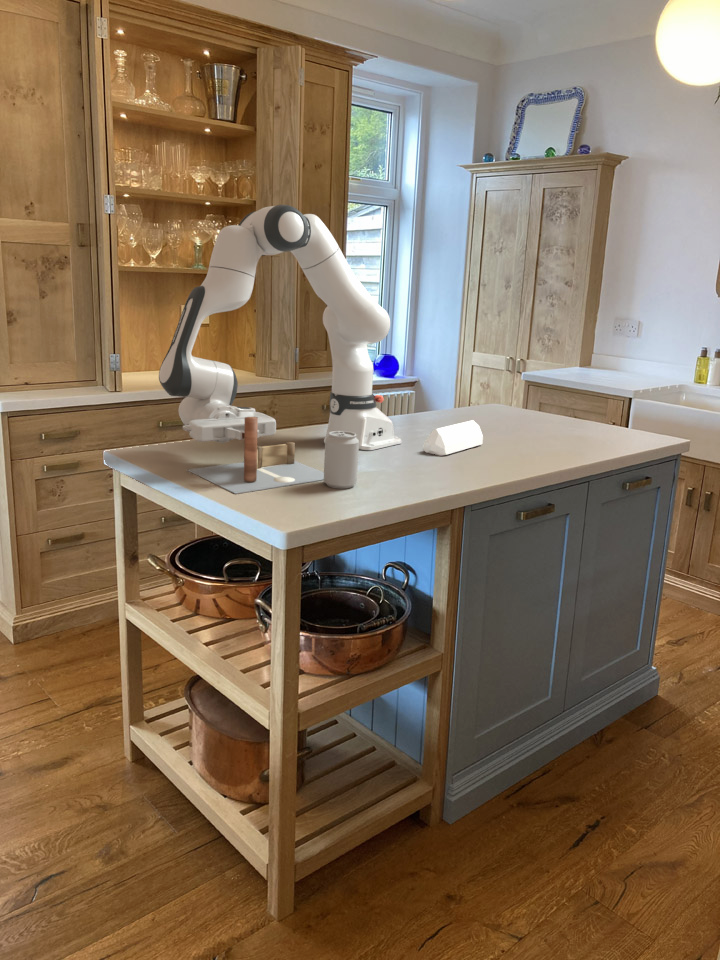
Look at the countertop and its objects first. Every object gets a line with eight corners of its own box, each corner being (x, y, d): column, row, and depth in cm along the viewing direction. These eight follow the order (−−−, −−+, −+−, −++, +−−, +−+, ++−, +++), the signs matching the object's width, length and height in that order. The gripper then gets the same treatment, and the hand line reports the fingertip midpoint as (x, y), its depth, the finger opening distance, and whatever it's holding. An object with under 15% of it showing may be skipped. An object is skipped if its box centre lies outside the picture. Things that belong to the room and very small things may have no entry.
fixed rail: (290, 461, 191) (291, 441, 190) (296, 463, 190) (296, 443, 188) (249, 466, 184) (249, 446, 183) (254, 469, 182) (254, 448, 181)
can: (327, 490, 170) (329, 436, 166) (320, 480, 176) (322, 429, 173) (360, 489, 172) (363, 436, 168) (351, 480, 178) (354, 429, 175)
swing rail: (249, 467, 182) (250, 409, 179) (261, 468, 182) (262, 409, 179) (243, 481, 171) (243, 419, 167) (255, 481, 171) (256, 419, 167)
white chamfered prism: (448, 445, 203) (492, 433, 221) (429, 428, 205) (475, 417, 224) (435, 466, 206) (479, 452, 225) (416, 449, 209) (462, 437, 228)
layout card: (284, 457, 196) (284, 456, 196) (337, 477, 180) (337, 477, 179) (186, 470, 179) (187, 469, 179) (235, 494, 163) (235, 493, 163)
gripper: (179, 412, 174) (207, 424, 164) (258, 407, 186) (289, 418, 176) (179, 439, 176) (206, 453, 166) (257, 432, 188) (288, 444, 178)
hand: (249, 435), depth 171 cm, fingers closed
